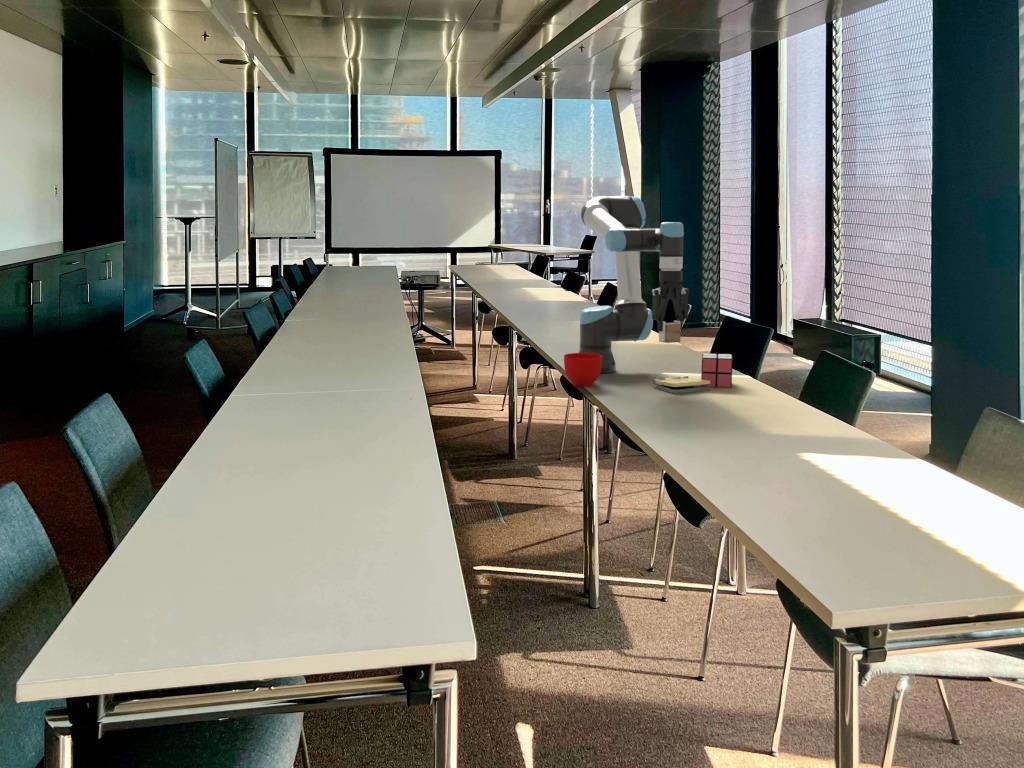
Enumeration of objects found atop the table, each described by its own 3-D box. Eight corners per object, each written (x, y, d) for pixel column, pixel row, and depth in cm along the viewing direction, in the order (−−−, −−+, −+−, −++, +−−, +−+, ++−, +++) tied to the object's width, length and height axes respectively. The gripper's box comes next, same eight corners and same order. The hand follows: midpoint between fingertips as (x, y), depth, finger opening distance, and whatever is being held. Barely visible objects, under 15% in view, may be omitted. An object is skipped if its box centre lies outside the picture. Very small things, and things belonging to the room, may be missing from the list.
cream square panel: (686, 381, 327) (686, 376, 327) (710, 384, 316) (710, 379, 315) (651, 384, 322) (651, 379, 321) (674, 388, 310) (674, 382, 309)
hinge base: (686, 383, 328) (686, 375, 327) (709, 390, 316) (710, 382, 315) (651, 386, 322) (651, 378, 321) (674, 393, 310) (674, 385, 310)
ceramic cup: (608, 380, 333) (609, 352, 331) (596, 389, 317) (597, 359, 315) (572, 378, 337) (572, 350, 335) (558, 387, 321) (559, 357, 319)
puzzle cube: (731, 388, 320) (732, 358, 318) (700, 387, 322) (701, 357, 320) (730, 383, 330) (732, 354, 328) (701, 381, 332) (702, 353, 330)
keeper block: (659, 341, 319) (659, 323, 318) (672, 340, 321) (672, 322, 320) (667, 342, 314) (667, 324, 313) (680, 342, 316) (680, 323, 315)
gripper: (653, 270, 307) (652, 343, 311) (700, 269, 314) (698, 340, 318) (641, 270, 314) (640, 340, 317) (687, 269, 321) (686, 338, 324)
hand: (669, 340), depth 317 cm, fingers closed on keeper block, 5 cm apart
